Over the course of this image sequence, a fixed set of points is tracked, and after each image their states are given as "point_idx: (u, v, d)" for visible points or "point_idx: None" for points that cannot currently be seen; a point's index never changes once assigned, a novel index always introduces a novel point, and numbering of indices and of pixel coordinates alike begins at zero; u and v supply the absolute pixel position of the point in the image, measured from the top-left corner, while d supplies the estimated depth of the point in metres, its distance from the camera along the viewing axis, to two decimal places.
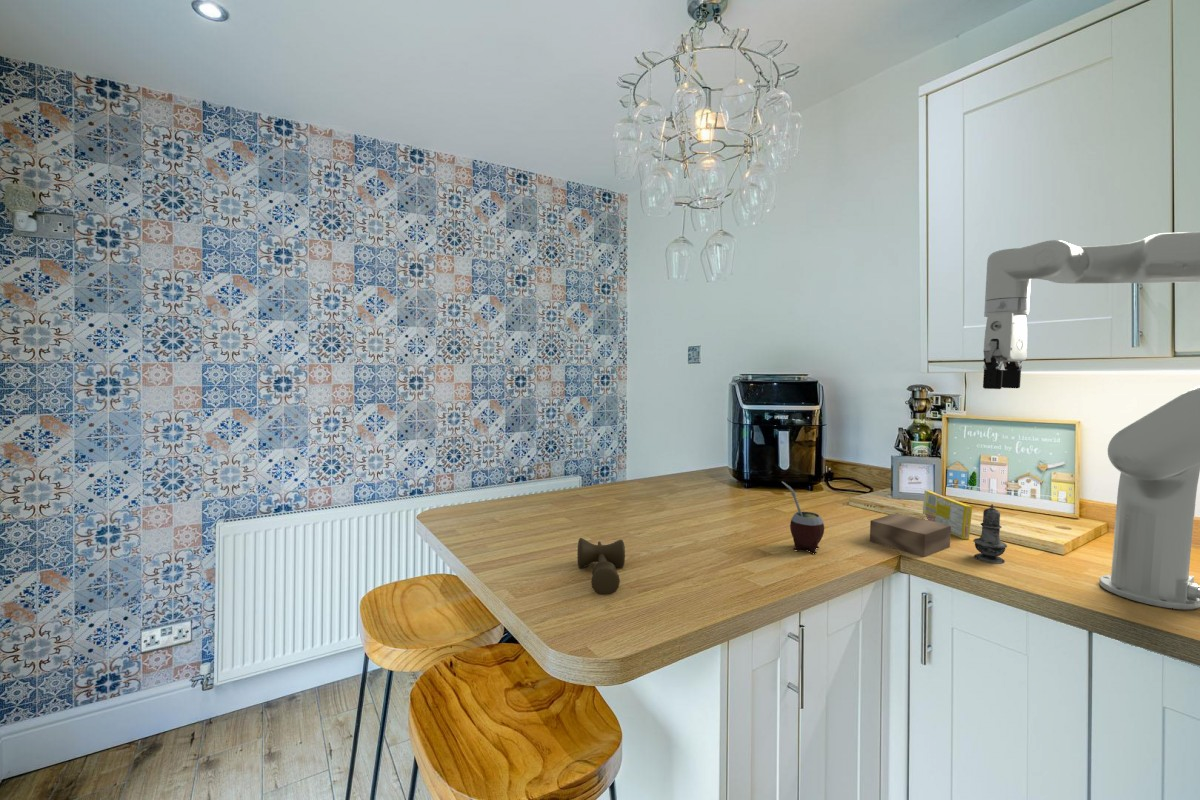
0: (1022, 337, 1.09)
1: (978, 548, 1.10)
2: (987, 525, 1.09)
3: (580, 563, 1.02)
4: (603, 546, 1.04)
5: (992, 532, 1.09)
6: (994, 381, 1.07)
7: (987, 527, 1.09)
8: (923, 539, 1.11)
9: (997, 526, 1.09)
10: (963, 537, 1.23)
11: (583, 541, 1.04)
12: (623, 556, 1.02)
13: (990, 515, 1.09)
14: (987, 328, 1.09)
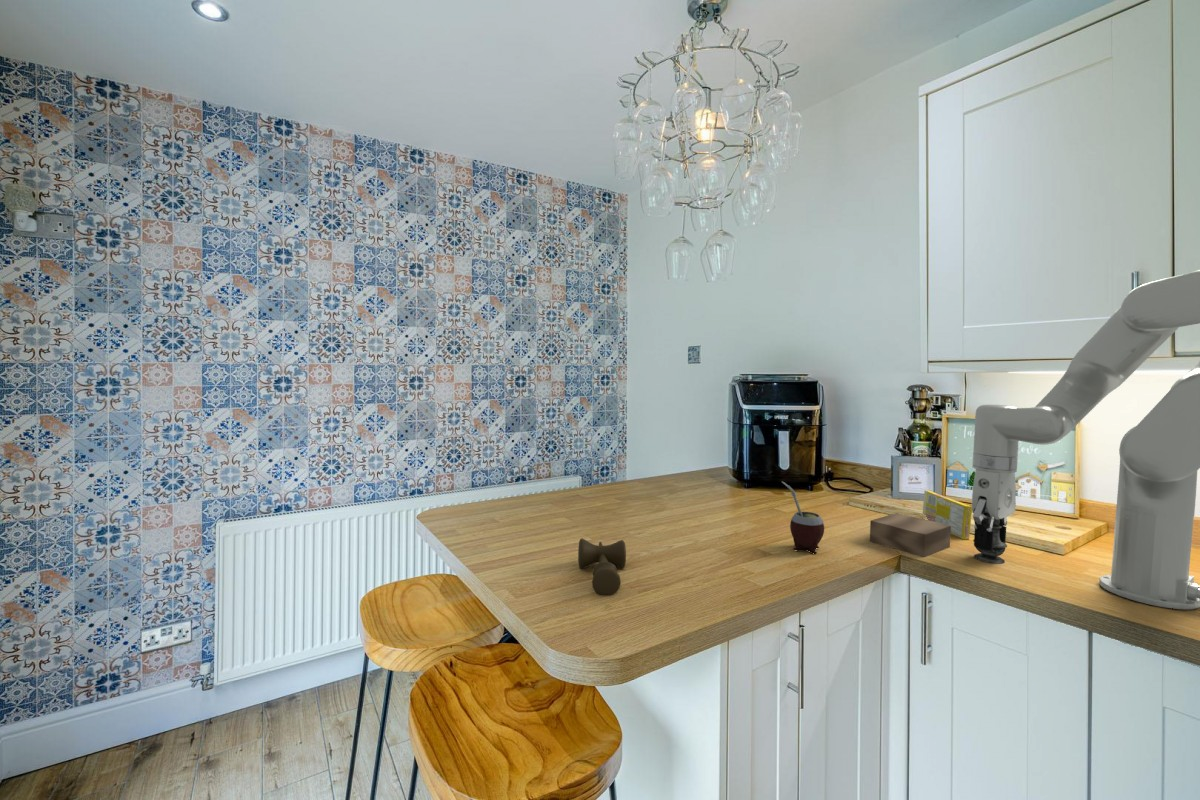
0: (1010, 493, 1.08)
1: (978, 548, 1.10)
2: None
3: (581, 564, 1.02)
4: (604, 547, 1.04)
5: (992, 531, 1.09)
6: (985, 542, 1.07)
7: None
8: (923, 539, 1.11)
9: (997, 526, 1.09)
10: (963, 537, 1.23)
11: (584, 542, 1.03)
12: (624, 557, 1.02)
13: None
14: (975, 483, 1.08)
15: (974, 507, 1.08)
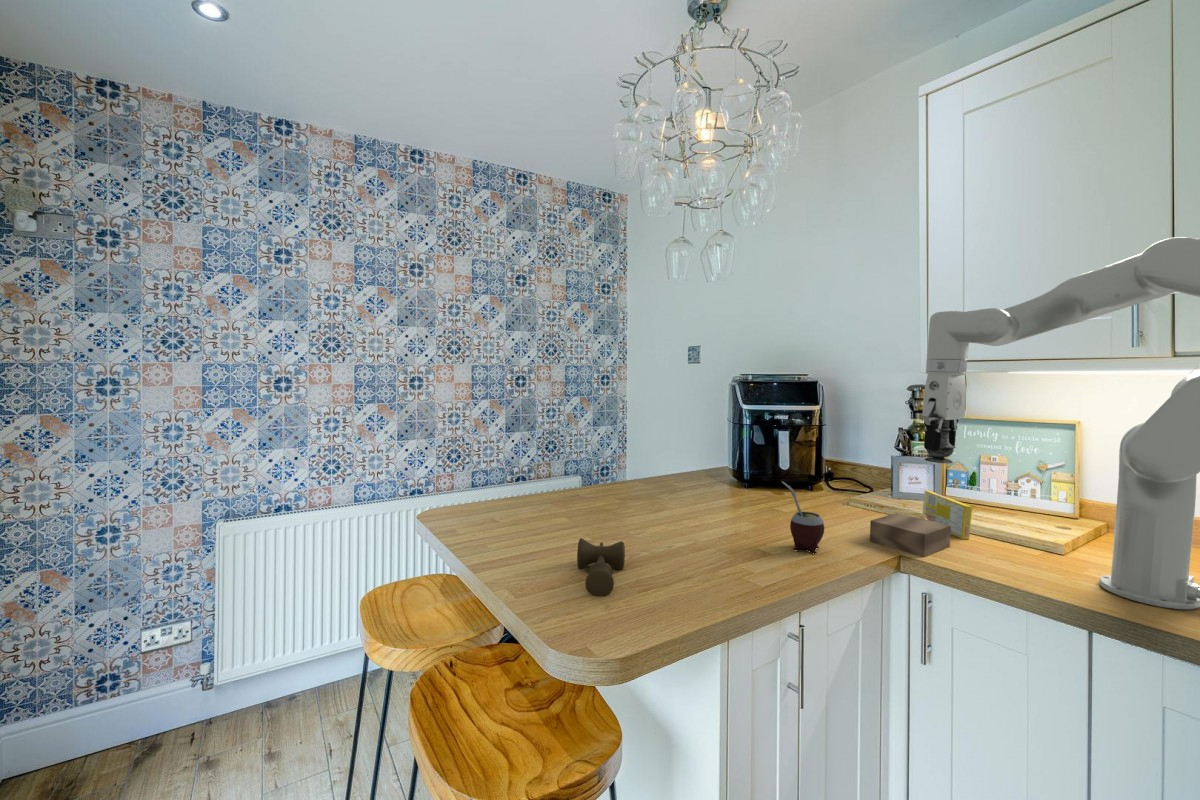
0: (960, 396, 1.12)
1: (928, 450, 1.15)
2: None
3: (579, 564, 1.02)
4: (603, 547, 1.04)
5: None
6: (934, 442, 1.12)
7: None
8: (923, 539, 1.11)
9: (946, 428, 1.13)
10: (963, 537, 1.23)
11: (583, 542, 1.03)
12: (622, 558, 1.01)
13: None
14: (926, 387, 1.13)
15: (924, 409, 1.13)
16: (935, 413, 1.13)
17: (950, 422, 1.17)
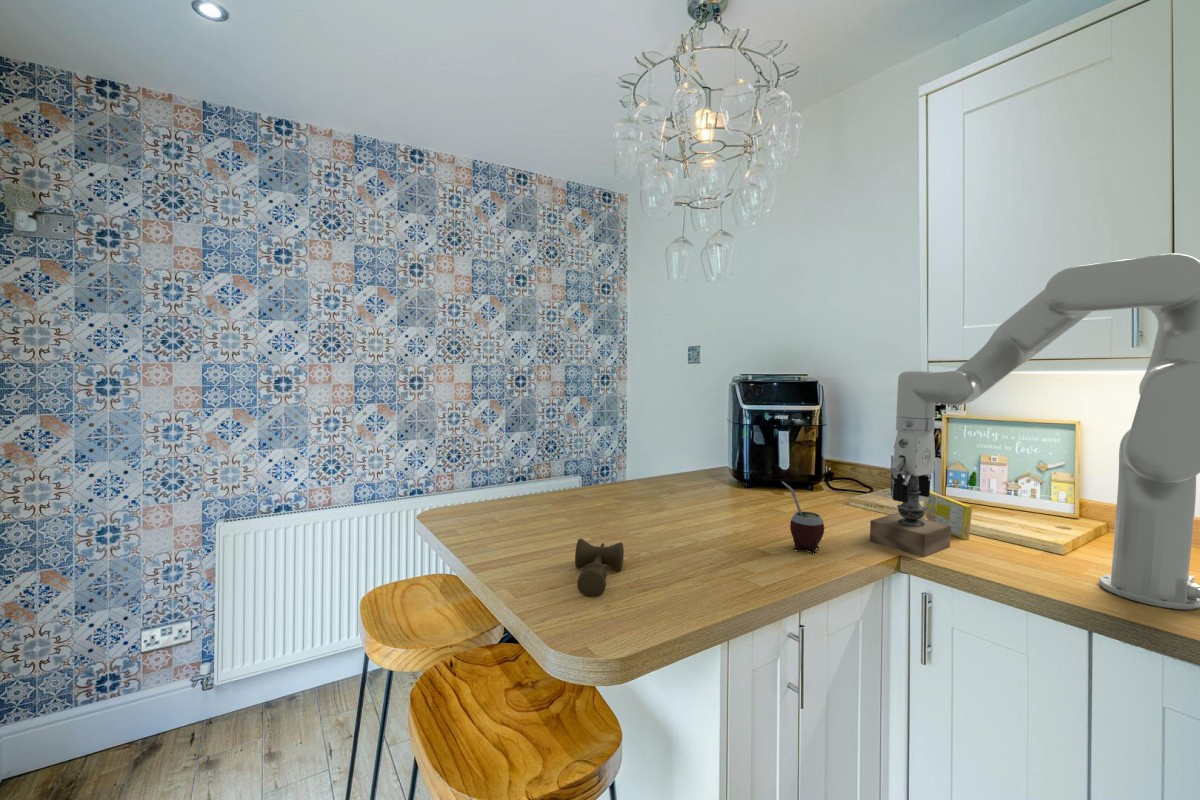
0: (928, 453, 1.16)
1: (900, 513, 1.19)
2: None
3: (576, 563, 1.02)
4: (601, 548, 1.03)
5: (911, 497, 1.18)
6: (901, 495, 1.15)
7: None
8: (923, 539, 1.11)
9: (916, 491, 1.17)
10: (963, 537, 1.23)
11: (581, 542, 1.03)
12: (620, 559, 1.01)
13: (909, 482, 1.18)
14: (896, 444, 1.17)
15: None
16: (905, 469, 1.17)
17: None
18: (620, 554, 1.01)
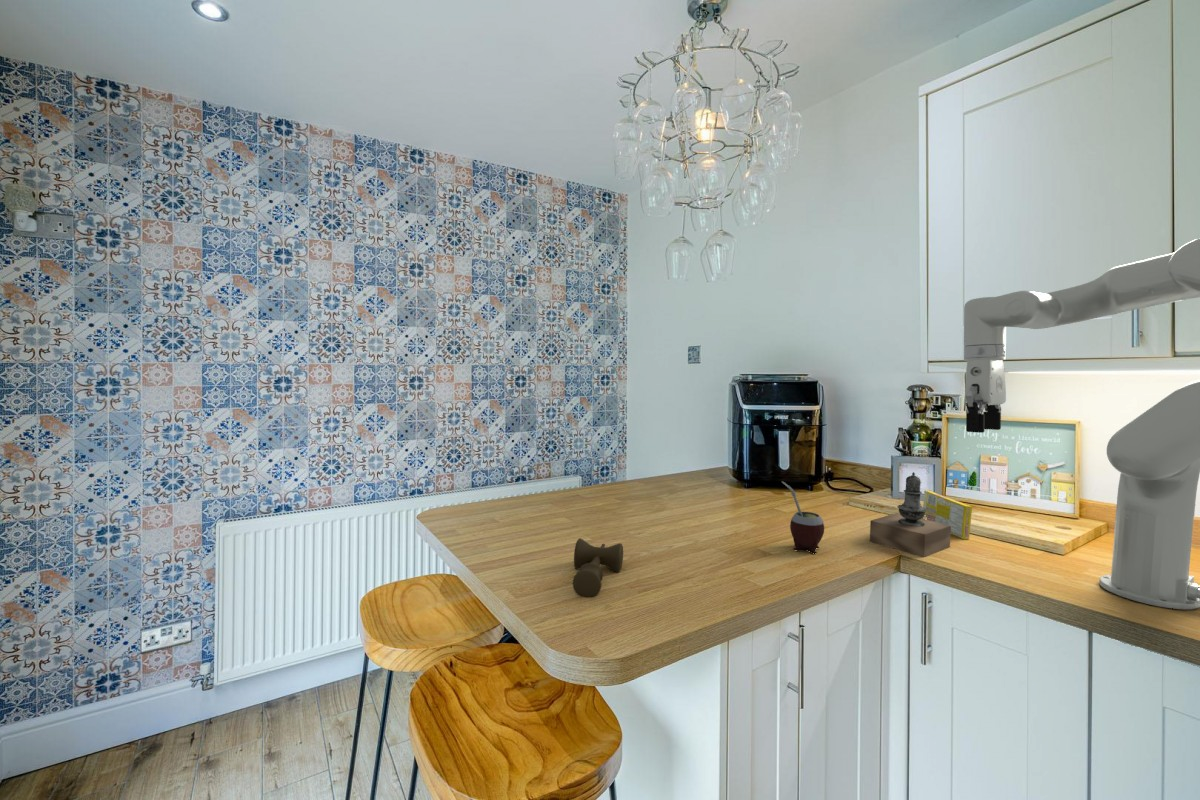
0: (1001, 381, 1.13)
1: (901, 513, 1.19)
2: (908, 491, 1.18)
3: (575, 563, 1.02)
4: (601, 548, 1.03)
5: (912, 497, 1.17)
6: (977, 424, 1.10)
7: (908, 493, 1.18)
8: (923, 539, 1.11)
9: (917, 492, 1.17)
10: (963, 537, 1.23)
11: (580, 542, 1.03)
12: (618, 560, 1.00)
13: (911, 482, 1.18)
14: (967, 373, 1.13)
15: None
16: (978, 399, 1.12)
17: (993, 404, 1.17)
18: (619, 555, 1.01)
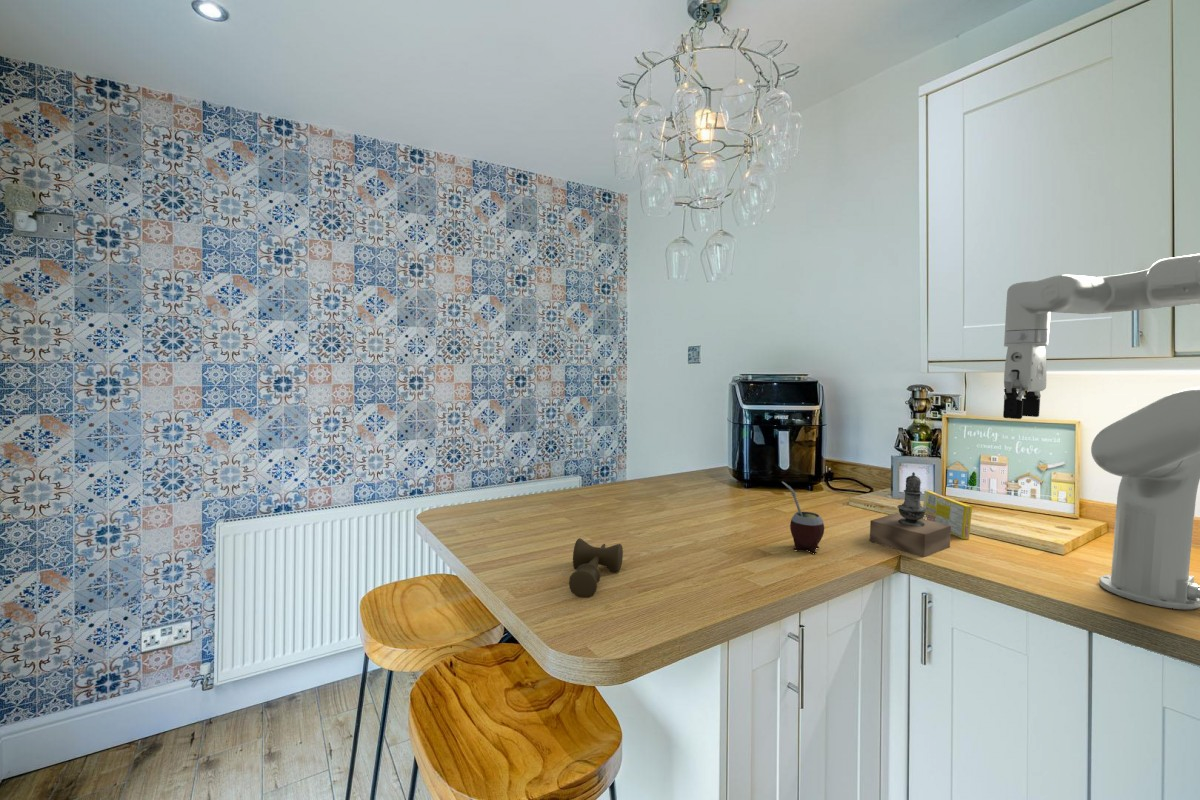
0: (1042, 368, 1.11)
1: (901, 513, 1.19)
2: (908, 491, 1.18)
3: (574, 563, 1.02)
4: (600, 549, 1.03)
5: (912, 497, 1.17)
6: (1015, 411, 1.09)
7: (908, 493, 1.18)
8: (923, 539, 1.11)
9: (917, 492, 1.17)
10: (963, 537, 1.23)
11: (579, 542, 1.03)
12: (617, 561, 1.00)
13: (911, 482, 1.18)
14: (1007, 359, 1.11)
15: None
16: (1017, 385, 1.11)
17: (1032, 391, 1.16)
18: (617, 555, 1.00)
